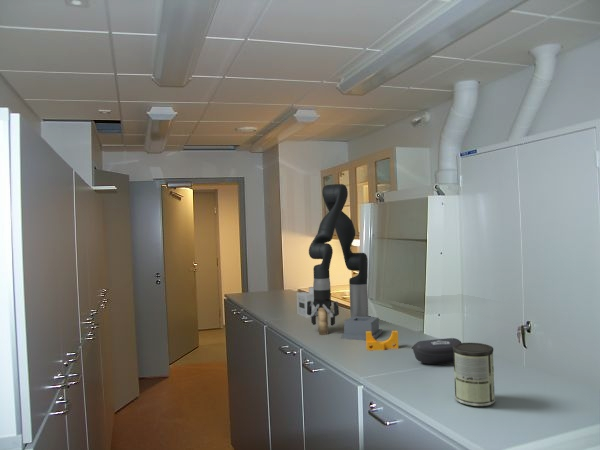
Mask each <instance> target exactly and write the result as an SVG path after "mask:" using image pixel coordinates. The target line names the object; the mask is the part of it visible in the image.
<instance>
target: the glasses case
mask: <svg viewBox="0 0 600 450" xmlns="http://www.w3.org/2000/svg"><path fill="white" fill-rule="evenodd" d="M459 343H462V341H461V340H460V339H459V338H456V337H455V338H454V337H449V338H436V339H425V340H420V341H417V342H416V343H415V344H414V345H413V346H412V347H411V349H412V350H413V354H414V357H415V359H416V360H417V361H418V362H419V363H423V364H428V365H429V364H431V365H444V364H449V363H454V352H453V346H454V345H456V344H459Z"/></svg>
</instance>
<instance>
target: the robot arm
mask: <svg viewBox="0 0 600 450" xmlns="http://www.w3.org/2000/svg"><path fill="white" fill-rule="evenodd" d="M348 193H349V192H348V188H347V186H346V184H343V183H339V184H338V183H336V184H335V183H333V184H326V185H324V186H323V187H322V198H323V201H324V204H325V206H326V208H327V210H328V212H327V213H326V214H325V216H323V218H322V220H321V221H320V224H319V227H318V229H317V232H316V233H317V234H316V235H315V236H314V238H313V240H312V242H311V243H310V245H309V247H308V255H309V257H310V258H311V259H313V260H322V261H321V263H320V264H316V265H314V266H313V283H312V284H313V285H312V287H313V288H314V302H313V301H308V302H307V315H310V316H311V324H312V326H316V324H317V316H315V314H316V313H317V312H318V308H325V311H327V314H328V315H329V316H330V326H332V327H334V325H335V324H336V317H337V316H339V314H340V312H339V310H340V309H339V302H338V301H332V300H331V299H332V298H331V297H332V294H331V279H330V267H331V262H332V257H333V255H334V254H333V252H334V251H333V247H332V245H331V244H330V243H329V242H331V241H332V240H333V235H334V233H336V234H337V235H336V236H337V238H338V241H339V244H340V246H341V251H342V255H343V259H344V263H345V267H346V269H348V270H349V271H354V272H355V271H358V274H357V275H355V276H353V277H350V278H349V279H348V280H349V281H348V283H349V284H348V285H349V307H350V308H349V309H350V313H349V314H350V315H349V316H350V317H352V316H359V317H369V295H368V292H369V291H368V290H369V289H368V274H369V273H368V269H369V268H368V265H369V264H368V263H369V260H368V256H367V254H366V253H365V252H353V251H352V248H351V246H352V244H353V242H354V239H355V238H356V229H355V226H354V225H355V224H354V223H353V220H352V219H351V218H350V217H349V216H348V215H347V214H346V213H345V212H344V211H343V209H344V207H345V205H346V202H347V200H348ZM312 305H314V306H315V309H314V310H313V312H312ZM331 306H332V307H333V308H332V307H331Z"/></svg>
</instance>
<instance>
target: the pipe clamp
mask: <svg viewBox="0 0 600 450" xmlns="http://www.w3.org/2000/svg"><path fill="white" fill-rule="evenodd" d="M365 342H366V343H365V344H366V346H365V347H366V350H367V351H368V352H369V351H372V352H373V351H385V350H389V349H390V350H391V349H392V350H394V349H395V350H396V349H397V350H398V349H399V331H398V330H391V335H390V336H389V338H387V339H386V340H383V341H382V340H381V341H380V340H377V339H374V338H373V336H372V333H371V331H366V340H365Z"/></svg>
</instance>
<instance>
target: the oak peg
mask: <svg viewBox="0 0 600 450" xmlns="http://www.w3.org/2000/svg"><path fill="white" fill-rule="evenodd" d="M328 318H329V317H328V313H327V311H325V308H318V335H319V336H327V335H329V321H328V320H329V319H328Z"/></svg>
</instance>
